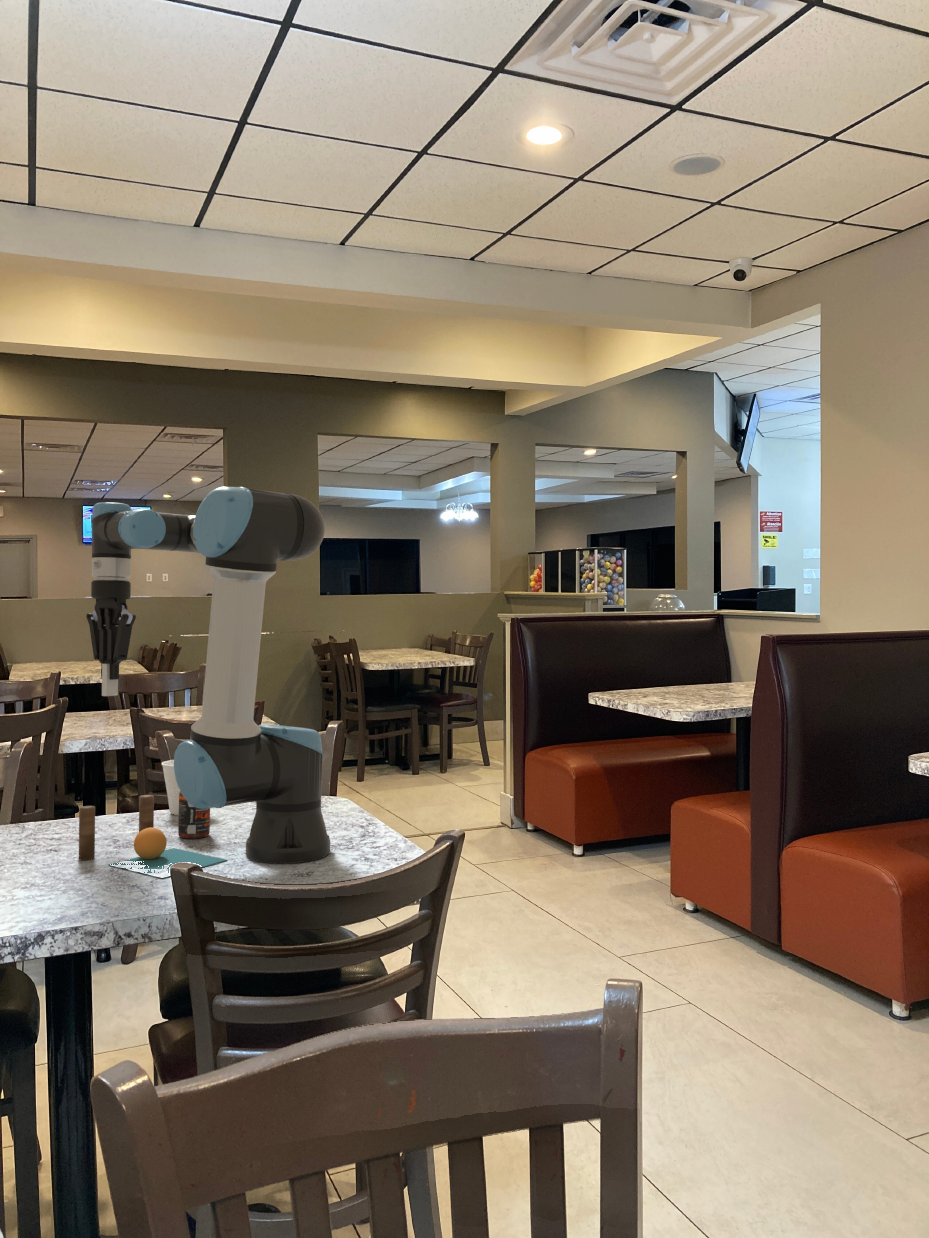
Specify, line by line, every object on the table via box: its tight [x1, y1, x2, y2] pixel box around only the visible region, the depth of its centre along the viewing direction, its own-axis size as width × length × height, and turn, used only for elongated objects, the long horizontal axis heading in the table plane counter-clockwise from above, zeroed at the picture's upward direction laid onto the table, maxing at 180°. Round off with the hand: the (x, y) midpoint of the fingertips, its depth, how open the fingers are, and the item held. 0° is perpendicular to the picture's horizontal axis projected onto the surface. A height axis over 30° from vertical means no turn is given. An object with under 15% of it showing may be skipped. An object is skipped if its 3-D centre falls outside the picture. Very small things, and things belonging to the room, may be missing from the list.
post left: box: [78, 805, 96, 861], centre depth 165 cm, size 3×3×9 cm
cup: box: [161, 759, 180, 816], centre depth 203 cm, size 10×10×11 cm
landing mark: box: [108, 847, 228, 873], centre depth 163 cm, size 14×14×1 cm
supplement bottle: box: [177, 791, 211, 840], centre depth 183 cm, size 6×6×11 cm
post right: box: [138, 794, 155, 833], centre depth 176 cm, size 3×3×9 cm
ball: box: [133, 827, 167, 859], centre depth 165 cm, size 6×6×6 cm
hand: (109, 695), depth 191 cm, fingers closed
